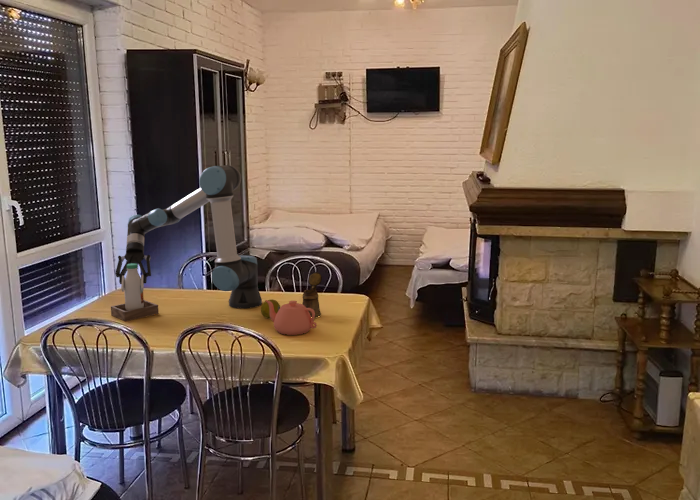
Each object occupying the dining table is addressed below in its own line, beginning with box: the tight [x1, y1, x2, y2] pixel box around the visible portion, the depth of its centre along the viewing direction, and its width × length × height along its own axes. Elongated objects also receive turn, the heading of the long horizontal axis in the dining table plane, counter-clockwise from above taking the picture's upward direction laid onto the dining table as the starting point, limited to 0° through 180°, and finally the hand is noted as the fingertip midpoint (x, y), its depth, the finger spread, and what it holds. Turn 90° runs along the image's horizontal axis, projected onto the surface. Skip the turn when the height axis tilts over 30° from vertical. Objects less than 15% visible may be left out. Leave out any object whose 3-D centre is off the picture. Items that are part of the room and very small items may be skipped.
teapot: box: [264, 299, 318, 336], centre depth 255 cm, size 22×16×12 cm
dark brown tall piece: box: [301, 271, 323, 317], centre depth 278 cm, size 9×14×18 cm, turn 164°
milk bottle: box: [123, 263, 145, 311], centre depth 276 cm, size 8×8×20 cm
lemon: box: [260, 299, 281, 320], centre depth 274 cm, size 11×8×8 cm
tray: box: [110, 299, 160, 322], centre depth 278 cm, size 13×16×4 cm
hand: (132, 289), depth 273 cm, fingers closed on milk bottle, 7 cm apart
